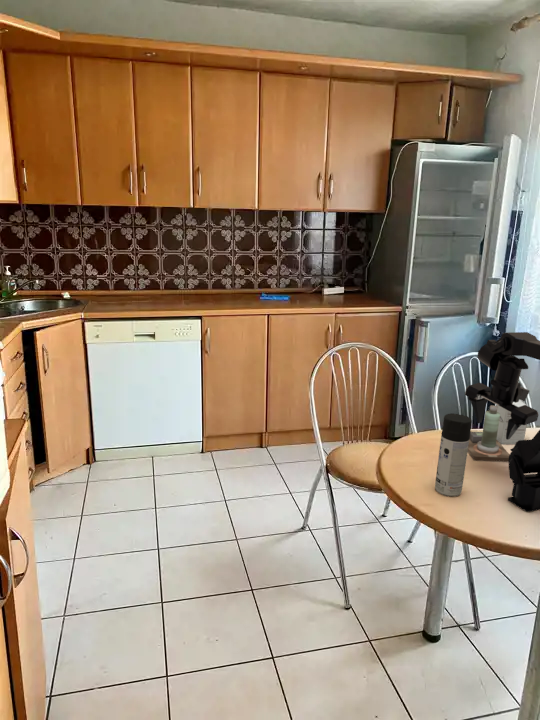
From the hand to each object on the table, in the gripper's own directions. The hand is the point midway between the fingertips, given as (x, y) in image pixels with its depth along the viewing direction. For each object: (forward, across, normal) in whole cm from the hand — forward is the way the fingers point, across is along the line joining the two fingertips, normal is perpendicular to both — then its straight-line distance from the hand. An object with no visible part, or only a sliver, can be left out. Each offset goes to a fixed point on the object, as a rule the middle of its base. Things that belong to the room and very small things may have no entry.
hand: (493, 430), depth 149 cm
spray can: (+11, -3, +18) cm, 22 cm away
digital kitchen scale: (+14, +8, -11) cm, 20 cm away
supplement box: (+15, +10, -24) cm, 31 cm away
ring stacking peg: (+13, +6, -10) cm, 17 cm away
